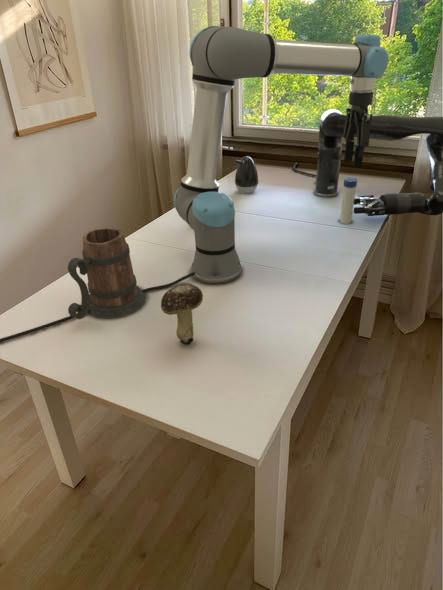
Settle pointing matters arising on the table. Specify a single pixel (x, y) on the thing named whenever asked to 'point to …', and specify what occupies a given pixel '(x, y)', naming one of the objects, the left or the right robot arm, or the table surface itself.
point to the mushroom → (182, 308)
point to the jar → (347, 204)
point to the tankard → (105, 276)
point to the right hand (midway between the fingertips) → (350, 206)
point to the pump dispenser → (246, 175)
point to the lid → (350, 182)
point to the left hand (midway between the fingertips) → (352, 163)
